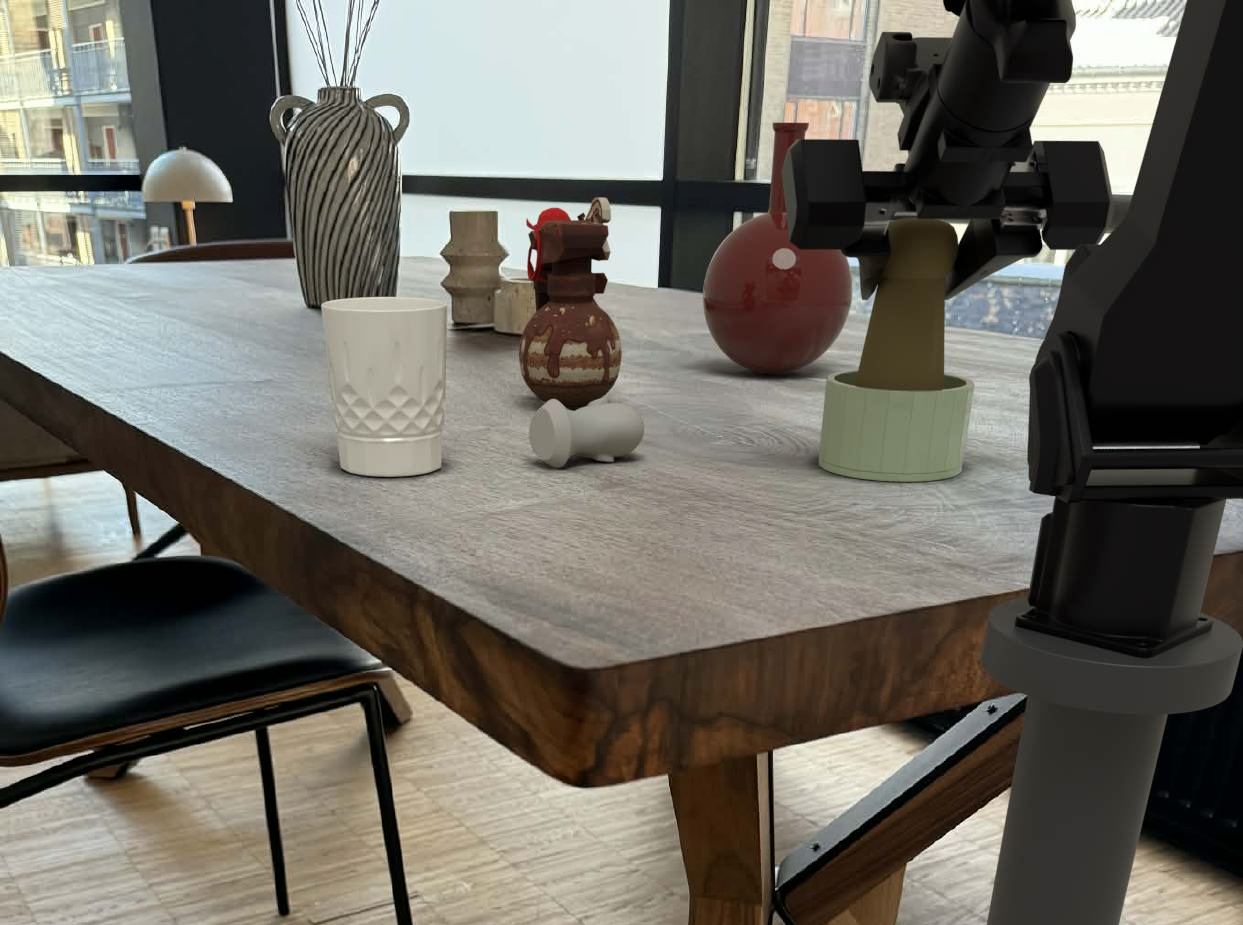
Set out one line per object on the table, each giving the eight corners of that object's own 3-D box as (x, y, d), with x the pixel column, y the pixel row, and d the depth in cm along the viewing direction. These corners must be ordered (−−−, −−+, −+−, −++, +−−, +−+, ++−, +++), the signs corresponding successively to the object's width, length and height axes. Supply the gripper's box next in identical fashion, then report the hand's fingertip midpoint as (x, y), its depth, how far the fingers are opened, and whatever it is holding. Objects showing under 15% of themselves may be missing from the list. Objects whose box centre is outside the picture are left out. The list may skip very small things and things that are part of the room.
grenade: (501, 399, 119) (500, 195, 112) (594, 394, 122) (598, 194, 114) (537, 419, 112) (538, 201, 104) (635, 413, 114) (643, 200, 106)
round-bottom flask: (671, 368, 134) (682, 121, 125) (785, 359, 140) (805, 122, 130) (753, 389, 124) (773, 122, 115) (874, 378, 130) (902, 123, 120)
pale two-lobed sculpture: (619, 467, 102) (657, 457, 97) (518, 476, 98) (553, 465, 94) (612, 403, 101) (651, 389, 96) (510, 409, 97) (545, 395, 93)
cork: (835, 399, 97) (853, 216, 92) (918, 396, 98) (941, 216, 93) (874, 414, 92) (895, 220, 86) (961, 411, 93) (987, 220, 88)
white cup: (341, 482, 92) (330, 312, 87) (323, 458, 98) (313, 298, 93) (462, 476, 94) (459, 308, 89) (437, 452, 100) (432, 295, 95)
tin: (988, 467, 97) (1002, 380, 94) (908, 488, 91) (920, 396, 89) (872, 447, 103) (881, 364, 100) (789, 465, 97) (797, 378, 94)
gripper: (1133, -24, 81) (1028, 192, 96) (804, -29, 80) (750, 191, 95) (1166, 137, 78) (1052, 334, 93) (824, 134, 76) (765, 335, 91)
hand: (904, 294), depth 93 cm, fingers closed on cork, 5 cm apart
